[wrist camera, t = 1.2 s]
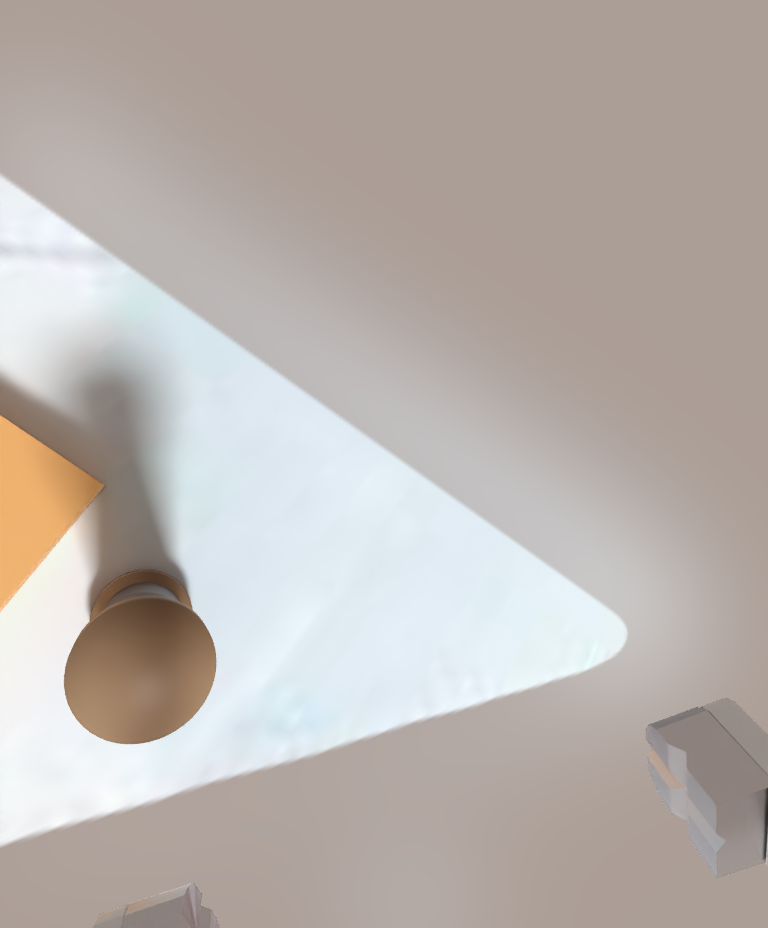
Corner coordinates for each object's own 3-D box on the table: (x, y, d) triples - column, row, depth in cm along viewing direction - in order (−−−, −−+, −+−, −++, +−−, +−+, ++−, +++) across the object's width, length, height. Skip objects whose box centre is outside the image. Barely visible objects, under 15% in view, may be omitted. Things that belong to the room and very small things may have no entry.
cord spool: (93, 671, 39) (67, 759, 25) (88, 576, 39) (60, 610, 25) (193, 654, 41) (220, 725, 27) (188, 564, 42) (212, 590, 28)
